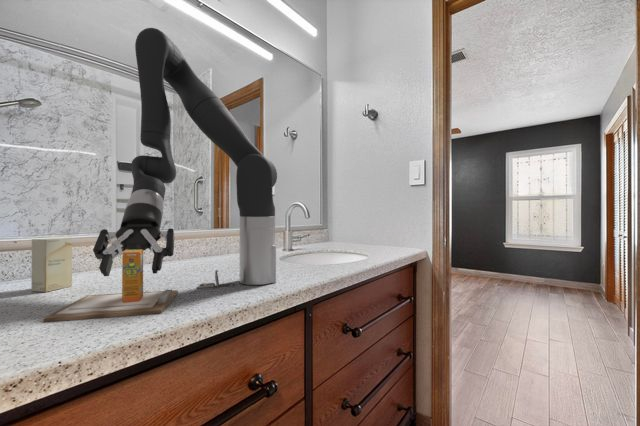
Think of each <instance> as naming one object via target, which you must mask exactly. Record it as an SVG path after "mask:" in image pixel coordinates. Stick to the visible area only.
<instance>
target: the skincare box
mask: <svg viewBox="0 0 640 426" xmlns="http://www.w3.org/2000/svg"><path fill="white" fill-rule="evenodd" d="M72 286H73V237H50V238H49V237H47V238H46V237H45V238H31V292H39V293H47V292H50V291H51V292H52V291H57V290H61V289H65V288H69V287H72Z"/></svg>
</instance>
